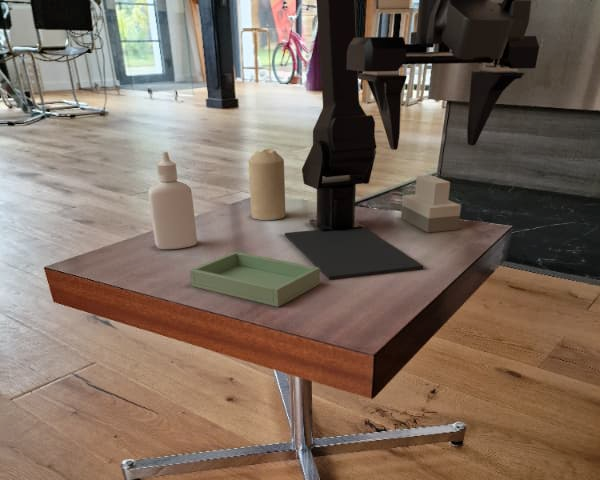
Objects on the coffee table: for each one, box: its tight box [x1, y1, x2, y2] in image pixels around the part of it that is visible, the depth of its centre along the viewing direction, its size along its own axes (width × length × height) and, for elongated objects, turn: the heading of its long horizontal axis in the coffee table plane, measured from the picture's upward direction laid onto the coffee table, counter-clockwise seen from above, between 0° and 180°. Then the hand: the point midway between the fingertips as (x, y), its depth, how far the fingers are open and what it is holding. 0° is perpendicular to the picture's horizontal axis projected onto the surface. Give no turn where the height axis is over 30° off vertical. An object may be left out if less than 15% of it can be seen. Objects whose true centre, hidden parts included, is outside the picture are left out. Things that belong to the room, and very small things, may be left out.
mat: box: [284, 226, 424, 280], centre depth 75 cm, size 20×12×1 cm, turn 16°
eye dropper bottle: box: [147, 151, 198, 251], centre depth 76 cm, size 4×6×12 cm
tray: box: [189, 251, 321, 308], centre depth 64 cm, size 12×8×2 cm
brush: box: [400, 174, 462, 233], centre depth 85 cm, size 9×5×6 cm, turn 16°
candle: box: [248, 148, 286, 221], centre depth 90 cm, size 6×6×10 cm
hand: (433, 147), depth 62 cm, fingers open, 9 cm apart
